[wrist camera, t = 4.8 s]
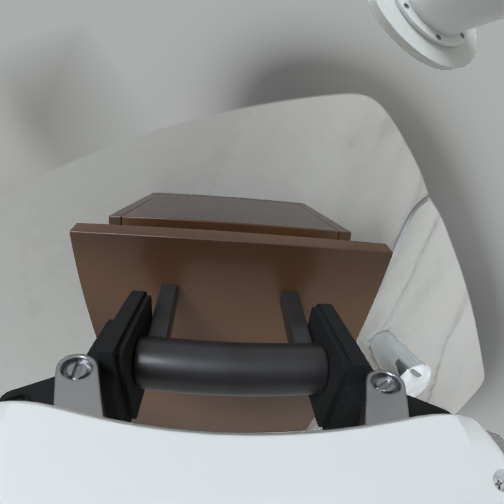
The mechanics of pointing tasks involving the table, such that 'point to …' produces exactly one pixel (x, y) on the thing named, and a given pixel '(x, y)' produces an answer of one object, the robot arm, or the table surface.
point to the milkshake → (400, 362)
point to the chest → (229, 216)
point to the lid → (227, 318)
